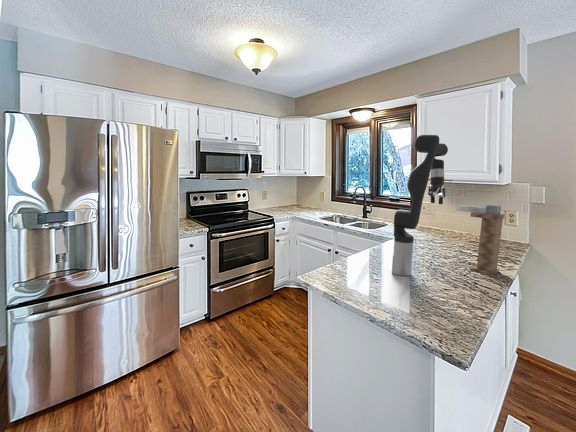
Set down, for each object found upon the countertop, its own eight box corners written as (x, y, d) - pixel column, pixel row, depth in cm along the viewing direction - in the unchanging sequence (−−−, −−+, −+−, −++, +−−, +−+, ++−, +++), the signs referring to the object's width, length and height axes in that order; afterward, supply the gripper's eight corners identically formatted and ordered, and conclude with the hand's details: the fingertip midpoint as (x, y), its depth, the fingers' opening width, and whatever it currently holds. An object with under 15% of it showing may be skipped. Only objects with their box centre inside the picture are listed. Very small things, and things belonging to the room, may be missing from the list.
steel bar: (455, 210, 166) (456, 202, 166) (459, 210, 169) (460, 202, 168) (496, 215, 150) (497, 206, 149) (500, 214, 153) (501, 205, 152)
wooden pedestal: (465, 268, 162) (470, 212, 157) (473, 265, 168) (479, 211, 163) (490, 275, 152) (497, 215, 147) (498, 271, 158) (505, 214, 153)
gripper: (437, 179, 186) (437, 204, 185) (424, 176, 178) (424, 203, 178) (449, 177, 180) (449, 204, 179) (436, 174, 172) (435, 202, 171)
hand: (436, 203), depth 178 cm, fingers open, 8 cm apart
